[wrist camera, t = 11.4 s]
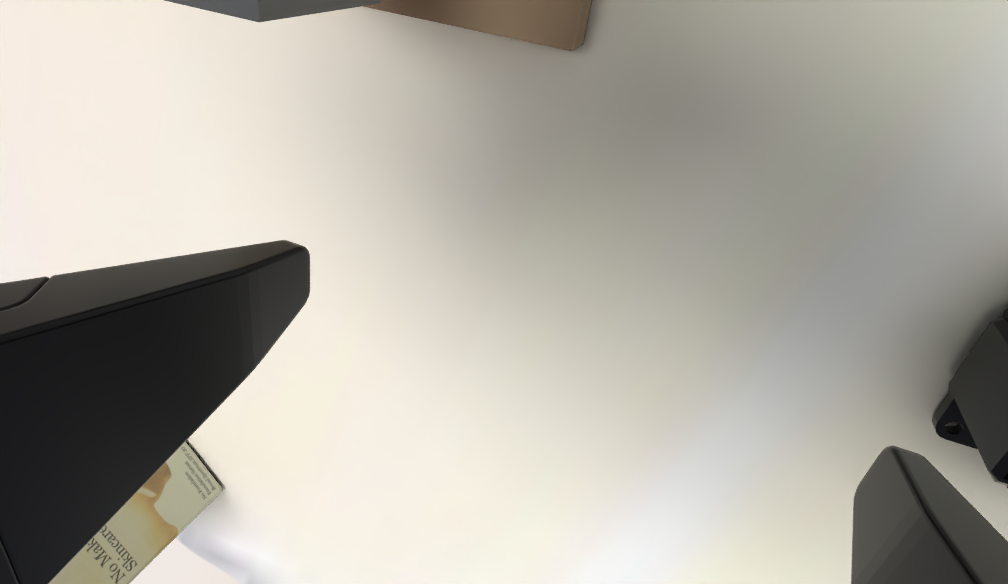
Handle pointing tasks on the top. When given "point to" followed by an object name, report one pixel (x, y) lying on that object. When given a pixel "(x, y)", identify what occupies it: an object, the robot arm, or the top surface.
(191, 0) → the frame bar
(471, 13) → the display stand
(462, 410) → the top surface
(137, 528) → the skincare box
